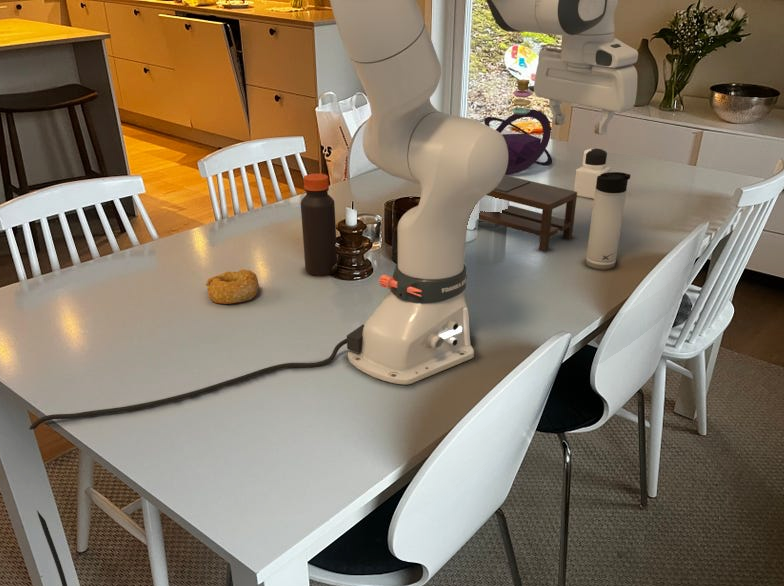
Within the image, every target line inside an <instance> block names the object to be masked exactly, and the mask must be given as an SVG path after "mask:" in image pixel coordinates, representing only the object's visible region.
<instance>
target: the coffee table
mask: <svg viewBox="0 0 784 586" xmlns="http://www.w3.org/2000/svg"><path fill="white" fill-rule="evenodd" d="M486 196H487V197H492V198H493V197H495V198H499V199H502V200H503V201H507V202H511V203H516V204H519V205H523V206H527V207H531V208H535V209H538V210H542V212H537V211H533V210H529V209H525V208H522V207H518V206H515V205H510V204H508V205H509V206H508V209H505V210H502V213H500V212H485V211H484V212H483V211H480V213H479V219H478V220H481V221H484V222H487V223H491V224H495V225H499V226H502V227H506V228H509V229H513V230H516V231H520V232H524V233H527V234H530V235H534V236H538V237H539V242H538V251H540V252H543V253H546V252H547V251H549V247H550V238H551V237H554V236H555V235H557V234H559V231H560V232H562V239H565V240H570V239H572V238H573V230H574V222H575V215H576V214H575V213H576V206H577V199H578V198H577V197H578V196H577V192H575V191H574V190H570V189H566V188H563V187H558V186H554V185H549V184H545V183H541V182H536V181H534V180H533V181H532V180H528V179H523V178H520V177H514V176H511V175H508V174H505V175H504V177H503V179H502V181H501V182H500V183H499V185H498V186H497V187H496V188H495V189H494V190H493V191H491V192H490V193H488V194H487V195H486ZM563 205H565V213H564V218H560V217H557V216H553V210H554V209H556V208H559V207H561V206H563Z"/></svg>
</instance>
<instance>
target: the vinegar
mask: <svg viewBox="0 0 784 586" xmlns="http://www.w3.org/2000/svg"><path fill="white" fill-rule="evenodd" d="M329 179H330V178H329V176H328V174H325V173H309V174H305V175H304V176H303V188H304V191H305V196H304V197H302V199H301V200H300V214H301V215H300V216H301V229H302V241H303V242H302V243H303V253H304V254H303V257H304V268H305V272H306V273H307V274H309V275H312V276H315V277H325V276H330V275H333V274H335V273H336V272H337V271H338V268H337V269H334V270H332V267H333V266H334V265H335V264H336V263H337V264H338V252H337V253H336V252H334V250H333V249H334V246H335V244H337V225H336V206H335V205H336V204H335V200H334V199H333V197H332V196H331V195H329V193H328V191H329V188H330V181H329Z"/></svg>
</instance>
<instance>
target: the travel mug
mask: <svg viewBox="0 0 784 586" xmlns="http://www.w3.org/2000/svg"><path fill="white" fill-rule="evenodd" d="M630 179H631V174H630V173H626V172H621V171H620V172H619V171H610V172H609V173H603V174H601V175H600V176H598V177H597V182H596V183H597V184H596V188H595V190H596V191H595V195H594V199H593V204H592V212H591V219H590V226H589V235H588V241H587V250H586V256H585V264H586V265H587V266H588V267H590V268H592V269H595V270H601V271H602V270H603V271H604V270H605V271H606V270H612V269H613V268H614V267H616V262H617V255H618V250H619V243H620V235H621V229H622V223H623V216H624V210H625V204H626V203H625V202H626V196H627V190H628V189H627V188H628V187H627V186H628V182H629V180H630Z"/></svg>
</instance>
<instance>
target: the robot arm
mask: <svg viewBox="0 0 784 586" xmlns="http://www.w3.org/2000/svg"><path fill="white" fill-rule="evenodd" d="M485 1H486V3H487V6H488V8H489V10H490V13H491V15H492V18H493V20H494V22H495V23H496V25H497V26H498V27H499V28H500V29H501V30H502V31H504V32H507V33H525V32H526V33H532V34H533V33H534V34H540V35H541V34H542V35H553V36H561V37H562V39H561V45H554V44H552V43H547V44H545V46H543V47H541V48H540V49H539V52H538V60H537V61H538V63H537V67H536V71H535V76H534V81H533V92H534V94H535V97H538V98H542V99H548V100H549V101H548V106H549V108H550V112H551V114H552V115H553V117H552V124H553V125H555V126H563V125H565V123H566V120H565V119H566V114H564V113H562V108H561V105H562V104H563V103H568V104H573V105H578V106H582V107H587V108H594V109H597V110H601V113H600V115H601V116H602V119H601V120H600V122H597V123H595V124H594V131H593V132H594V134H596V135H599V136H603V135H606V134H607V132H608V125H609V123H610V122H611V121H612V119H613V118H614V116H615V115H616V114H615V113H618V114H621V113H625V112H629V111H631V110H632V109H633V108H634V106H635V104H636V100H637V94H638V71H637V68H636V67H635V66H634V65H633V64H636V63H637V62H638V59H639V51H638V50H637V49H635V48H633V47H632V46H630V45H628V44H626V43H624V42H622V40H619V38H617V37H615V31H616V28H615V27H616V26H615V13H616V10H617V8H618V4H619V0H485ZM329 3H330V4H329V5H330V8H331V12H332V14H333V18H334V22H335V24H336V27H337V30H338V33H339V35H340V38H341V40H342V44H343V46H344V48H345V50H346V52H347V54H348V57H349V59H350V62H351V63H352V66H353V67H354V69H355V72H356V74H357V76H358V78H359V81H360V83H361V85H362V88H363V91H364V92H365V94H366V97H367V100H368V103H369V104H368V105H369V108H370V116H369V118H368V119H367V121H366V123H365V125H364V128H363V132H362V148H363V153H364V155H365V157H366V159H367V161H368V162H370V164H372V165H374V166H376V167H377V168H378V169H380V170H381V171H383V172H385V173H387V174H389V175H390V176H392V177H395V178H399V179H402V180H406V181H409V182H412V183H416V184H418V185H420V190H421V193H420V198H419V203H418V204H417V205H416V206H414V207H412V208H410V209H408V210H407V211H406V212H405V213H403V215H402V216H401V217H400V219H399V220H398V223H397V230H396V231H397V232H396V233H397V263H396V264H395V267H394V271H393V274H392V276H389V275H387V274H382V275H381V276H380V278H379V280H378V281H379V282H378V283H379V286H380V287H382V288H386V289H388V290H389V291H388V293H387V294H386V296H385V297H384V298H383V300H382V301H380V303H379V304H378V306H377V308H376V309H375V310H374V311H373V313H372V314H371V315H370V317H368V319H367V320H366V321H365V323H364V324H361V325H360V326H358V327H357V328H356V329H354V330H353V331H351V332H350V333H348V334H347V335H346V338H344V339H342V340H341V341H340V342H338V343H337V344H336V345H335V347H334V348H333V351H331V354H330V356H328V357H327V358H326V359H323V360H321V361H316V362H286V363H280V364H276V365H271V366H269V367H265V368H262V369H261V368H260V369H258V370H255V371H252V372H250V373H246V374H244V375H240V376H238V377H237V376H236V377H234V378H231V379H228V380H224V381H222V382H219V383H216V384H212V385H210V386H206V387H203V388H200V389H196V390H192V391H189V392H185V393H182V394H177V395H174V396H170V397H166V398H162V399H156V400H152V401H148V402H142V403H137V404H132V405H126V406H119V407H112V408H104V409H94V410H87V411H81V412H74V413H56V414H55V413H53V414H48V415H44V416H41V417H40V418H37V419H36V420H35V421H33V423H32V424H31V425H30V426H29V428H28V429H29V430H31V431H32V430H35V429H36V428H37V427H39V425H41V424H43V423H45V422H48V421H51V420H71V419H79V418H86V417H94V416H102V415H109V414H117V413H123V412H129V411H130V412H131V411H134V410H139V409H140V410H141V409H145V408H151V407H155V406H159V405H165V404H168V403H172V402H177V401H180V400H184V399H188V398H191V397H196V396H199V395H202V394H205V393H209V392H211V391H215V390H218V389H221V388H224V387H226V386H230V385H233V384H237V383H239V382H240V383H241V382H242V381H246V380H248V379H251V378H254V377H257V376H260V375H262V374H267V373H269V372H273V371H277V370H281V369H287V368H288V369H289V368H317V367H322V366H325V365H327V364H330V363H332V361H334V360H335V358H336V356H337V354H338V352H339V350H340V349H341V348H342V347H343V346H345V345H346V349H347V350H349V351H348V352H347V359H348V361H349V362H350V364H351V365H352V366H353V367H355V368H356V369H358V370H359V371H361V372H363V373H365V374H367V375H368V376H371V377H373V378H375V379H378V380H381V381H383V382H387V383H391V384H396V385H404V386H405V385H411V384H414V383H416V382H419V381H421V380H423V379H424V380H425V379H426V378H428V377H431V376H433V375H436V374H439V373H441V372H444V371H445V370H448V369H450V368H452V367H455V366H458V365H460V364H463V363H465V362H467V361H470V360H472V359H473V358H475V349H474V347H473V346H472V344H471V333H470V320H469V317H470V316H469V315H470V314H469V308H468V305H467V302H466V297H465V290H466V287H467V280H468V274H467V266H466V264H465V253H466V240H467V239H466V238H467V230H468V229H467V225H468V221H469V218H470V215H471V213H472V211H473V209H474V207H475V205H476V204H477V205H478V203H479V202H480V201H481V199H483V198H484V197H485V196H488V195H487V194H488V193H490V192H491V191H493V190H494V189H495V188H496V187H497V186H498V185H499V183H500V182H501V181H502V179H503V177H504V175H506V174H505V173H506V170H507V166H508V148H507V144H506V141H505V139H504V137H503V136H502V132H501V133H499V132H498V131H496V129H494V128H493V127H491V126H490V127H489V126H487V125H485V123H483V122H481V121H479V120H476V119H474V118H469V117H465V116H460V115H455V114H449V113H445V112H441V111H439V110H438V109H437V108H435V106H434V105H433V104H432V102H431V100H430V98H431V97H432V96H433V95H434V93H436V90H437V88H438V85H439V83H440V80H441V77H442V66H441V62H440V59H439V57H438V54H437V52H436V49H435V46H434V44H433V43H434V42H433V41H432V38H431V35H430V33H429V30H428V27H427V24H426V21H425V19H424V15H423V13H422V11H421V8H420V5H418V2H417V0H329ZM36 513H37V516H38V520H39V523H40V525H41V528H42V530H43V534H44V537H45V539H46V541H47V544H48V547H49V550H50V552H51V555H52V558H53V561H54V565H55V567H56V569H57V573H58V576H59V580H60V582H61V586H68V583H67V579H66V576H65V573H64V570H63V566H62V563H61V561H60V558H59V555H58V551H57V549H56V547H55V543H54V541H53V537H52V536H51V533H50V530H49V526H48V525H47V521H46V519H45V517H44V516H43V515H42V514H41V513H40V512H39V510H36Z"/></svg>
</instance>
